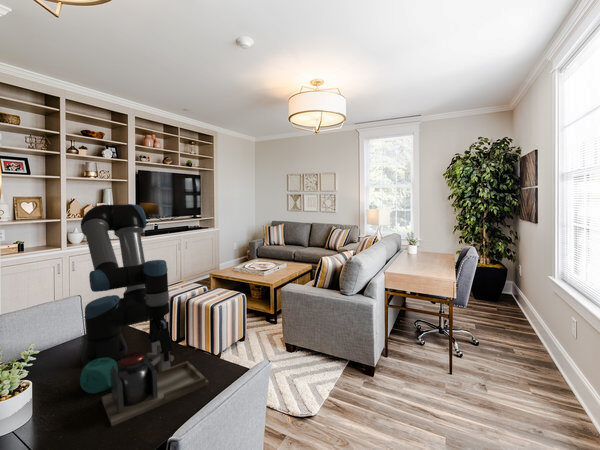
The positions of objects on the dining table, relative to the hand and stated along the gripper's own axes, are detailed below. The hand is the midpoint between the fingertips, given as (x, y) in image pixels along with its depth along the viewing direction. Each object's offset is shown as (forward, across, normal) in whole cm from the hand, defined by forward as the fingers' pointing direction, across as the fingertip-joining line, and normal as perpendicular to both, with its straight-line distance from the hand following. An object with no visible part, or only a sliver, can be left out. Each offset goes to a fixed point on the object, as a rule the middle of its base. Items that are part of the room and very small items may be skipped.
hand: (161, 364), depth 109 cm
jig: (+3, +12, -5) cm, 13 cm away
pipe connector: (+3, -1, 0) cm, 3 cm away
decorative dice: (+3, -5, -18) cm, 19 cm away
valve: (+3, +12, -12) cm, 17 cm away
